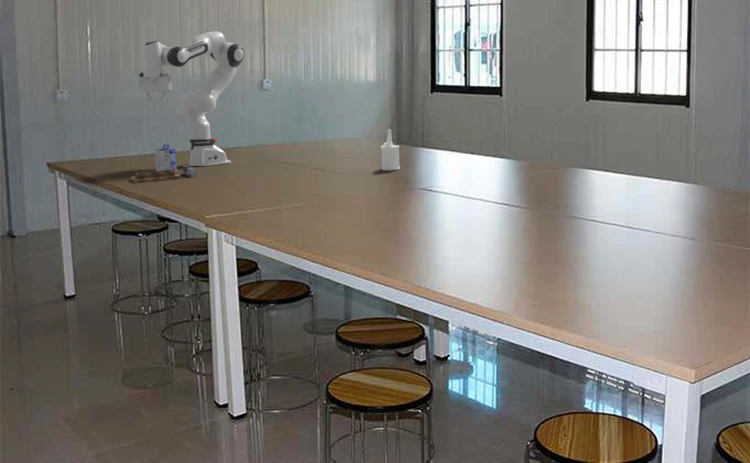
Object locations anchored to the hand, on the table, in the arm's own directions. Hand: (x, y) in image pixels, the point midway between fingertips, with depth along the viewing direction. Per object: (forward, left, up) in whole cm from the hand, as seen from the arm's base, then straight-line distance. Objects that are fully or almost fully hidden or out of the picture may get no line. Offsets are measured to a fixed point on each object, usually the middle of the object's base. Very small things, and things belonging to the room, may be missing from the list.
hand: (156, 100), depth 466 cm
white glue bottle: (-99, +68, -37) cm, 126 cm away
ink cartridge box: (-1, +5, -37) cm, 37 cm away
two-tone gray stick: (-9, +22, -37) cm, 44 cm away
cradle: (+9, +24, -37) cm, 45 cm away
